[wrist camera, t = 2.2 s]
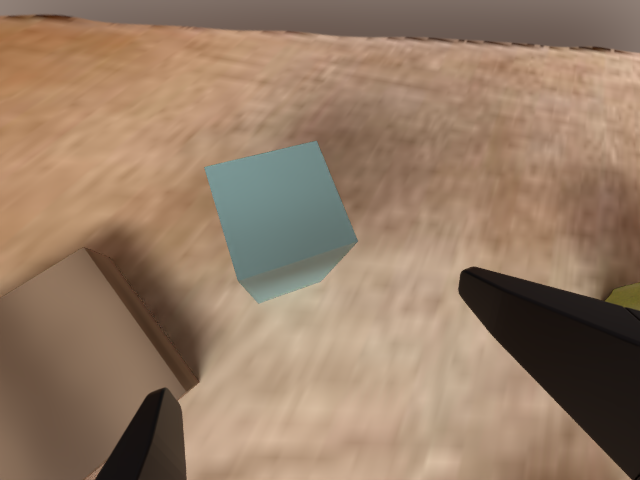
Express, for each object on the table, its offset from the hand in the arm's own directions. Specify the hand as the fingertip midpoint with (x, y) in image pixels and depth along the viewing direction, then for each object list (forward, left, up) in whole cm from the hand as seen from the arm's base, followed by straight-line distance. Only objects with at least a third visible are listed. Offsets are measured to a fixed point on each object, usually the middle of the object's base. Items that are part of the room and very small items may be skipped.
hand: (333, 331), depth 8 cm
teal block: (+2, -4, -11) cm, 12 cm away
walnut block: (+13, +4, -12) cm, 18 cm away
